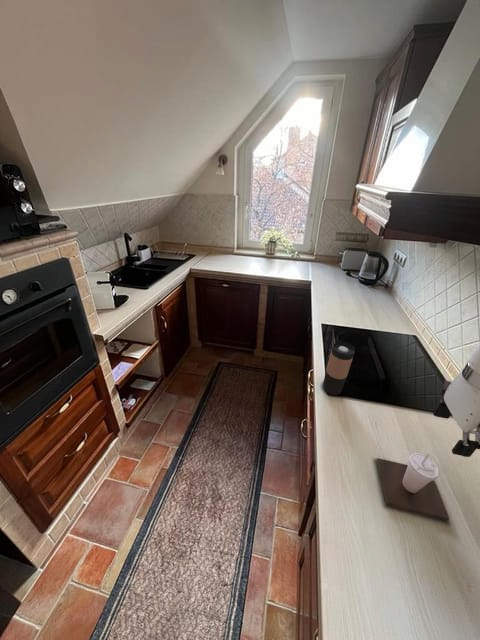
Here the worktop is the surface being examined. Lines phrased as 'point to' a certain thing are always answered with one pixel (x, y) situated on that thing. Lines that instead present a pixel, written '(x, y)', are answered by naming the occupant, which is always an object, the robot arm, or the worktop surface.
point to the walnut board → (401, 498)
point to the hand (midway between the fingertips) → (449, 434)
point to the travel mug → (338, 367)
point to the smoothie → (419, 472)
